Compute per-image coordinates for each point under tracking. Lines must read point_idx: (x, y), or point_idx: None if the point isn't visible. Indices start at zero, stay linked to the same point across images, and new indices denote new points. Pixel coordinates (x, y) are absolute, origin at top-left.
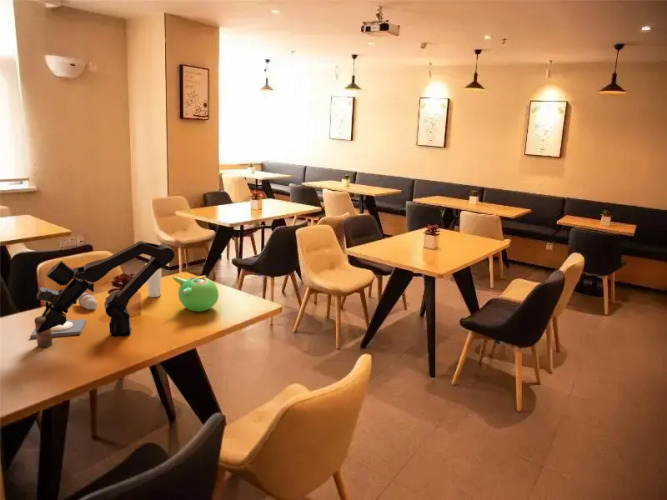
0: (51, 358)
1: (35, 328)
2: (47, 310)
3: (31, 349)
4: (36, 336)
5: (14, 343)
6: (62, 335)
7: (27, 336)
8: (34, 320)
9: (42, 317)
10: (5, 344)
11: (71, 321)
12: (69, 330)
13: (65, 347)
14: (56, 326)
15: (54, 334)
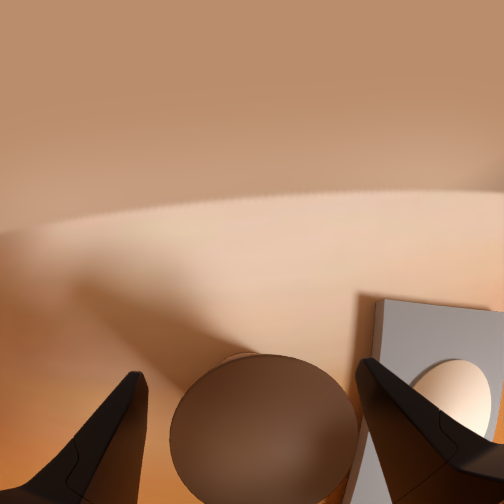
0: (59, 409)
1: (458, 309)
2: (443, 477)
3: (210, 321)
4: (377, 330)
5: (331, 229)
6: (354, 460)
7: (404, 281)
8: (254, 355)
9: (295, 450)
10: (329, 193)
11: None
12: (378, 491)
13: (172, 484)
14: (449, 414)
15: (367, 426)
